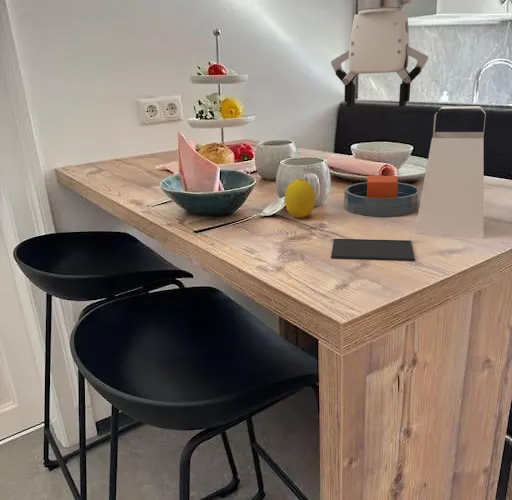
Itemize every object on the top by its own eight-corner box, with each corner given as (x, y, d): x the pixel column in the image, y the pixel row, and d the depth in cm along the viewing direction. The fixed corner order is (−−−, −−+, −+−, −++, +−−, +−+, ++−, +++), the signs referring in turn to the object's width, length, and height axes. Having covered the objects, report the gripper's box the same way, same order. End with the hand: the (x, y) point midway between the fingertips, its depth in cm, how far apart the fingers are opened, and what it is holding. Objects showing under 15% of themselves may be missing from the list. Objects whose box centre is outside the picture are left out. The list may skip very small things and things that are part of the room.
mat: (409, 240, 80) (409, 238, 80) (414, 261, 72) (415, 258, 72) (334, 238, 83) (334, 236, 83) (331, 258, 75) (331, 255, 74)
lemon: (301, 214, 98) (300, 173, 95) (321, 220, 93) (321, 177, 91) (279, 220, 95) (278, 178, 92) (298, 226, 90) (297, 182, 88)
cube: (394, 203, 100) (396, 175, 98) (396, 210, 95) (397, 182, 93) (366, 202, 101) (367, 175, 99) (366, 210, 96) (367, 181, 94)
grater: (420, 218, 91) (428, 105, 85) (483, 222, 88) (496, 104, 81) (414, 236, 82) (422, 110, 76) (483, 241, 78) (498, 109, 72)
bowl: (415, 200, 103) (416, 181, 102) (422, 220, 90) (424, 198, 89) (345, 200, 106) (346, 181, 105) (342, 219, 93) (343, 198, 92)
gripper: (435, 2, 87) (427, 104, 93) (338, 10, 94) (337, 105, 100) (428, -3, 80) (421, 107, 86) (325, 7, 88) (325, 108, 94)
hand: (376, 106), depth 93 cm, fingers open, 9 cm apart
